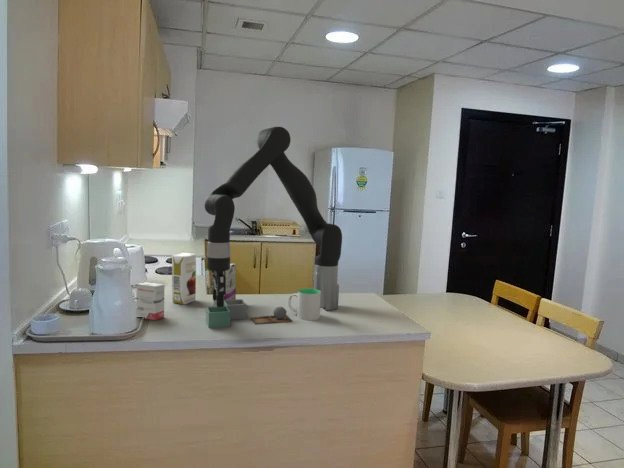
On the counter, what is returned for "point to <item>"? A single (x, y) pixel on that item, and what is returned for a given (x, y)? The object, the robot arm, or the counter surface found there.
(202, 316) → the counter surface
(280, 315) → the ball grey
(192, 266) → the juice carton
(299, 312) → the mug
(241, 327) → the counter surface
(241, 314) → the grey open box
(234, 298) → the candy bar box
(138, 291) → the ink box
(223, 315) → the green open box
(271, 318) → the rack
